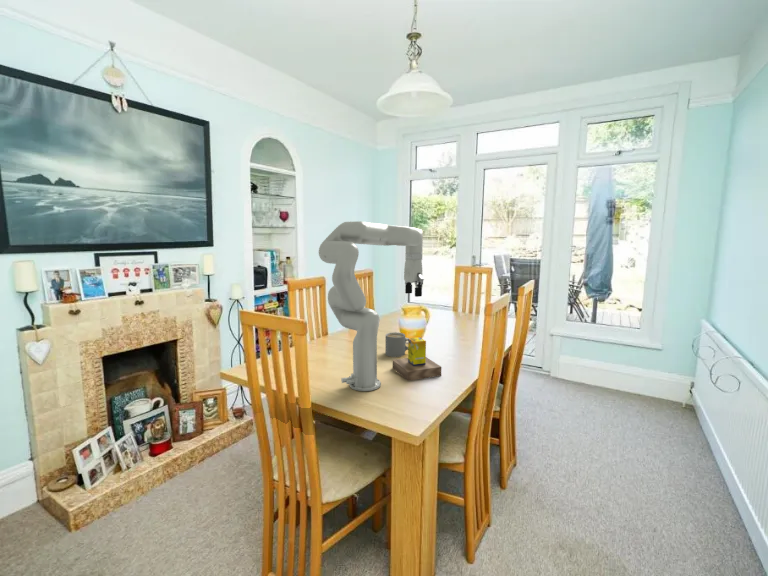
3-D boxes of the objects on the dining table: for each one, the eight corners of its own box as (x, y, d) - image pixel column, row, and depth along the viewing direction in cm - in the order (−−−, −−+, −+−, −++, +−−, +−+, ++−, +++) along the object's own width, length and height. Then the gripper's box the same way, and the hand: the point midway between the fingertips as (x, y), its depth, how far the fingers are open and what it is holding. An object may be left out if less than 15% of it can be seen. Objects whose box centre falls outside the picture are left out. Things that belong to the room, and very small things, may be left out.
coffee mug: (384, 356, 190) (384, 337, 188) (386, 350, 199) (387, 332, 198) (410, 357, 188) (411, 338, 186) (412, 351, 197) (412, 333, 196)
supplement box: (407, 362, 169) (407, 338, 168) (419, 360, 171) (420, 337, 170) (413, 366, 164) (413, 341, 162) (425, 364, 166) (426, 340, 164)
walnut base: (407, 380, 158) (407, 371, 158) (392, 368, 173) (392, 359, 172) (441, 375, 164) (441, 366, 163) (423, 364, 179) (424, 355, 178)
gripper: (398, 255, 176) (398, 292, 178) (414, 258, 160) (414, 298, 162) (412, 255, 179) (412, 291, 181) (430, 257, 163) (429, 297, 165)
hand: (413, 294), depth 172 cm, fingers open, 9 cm apart
